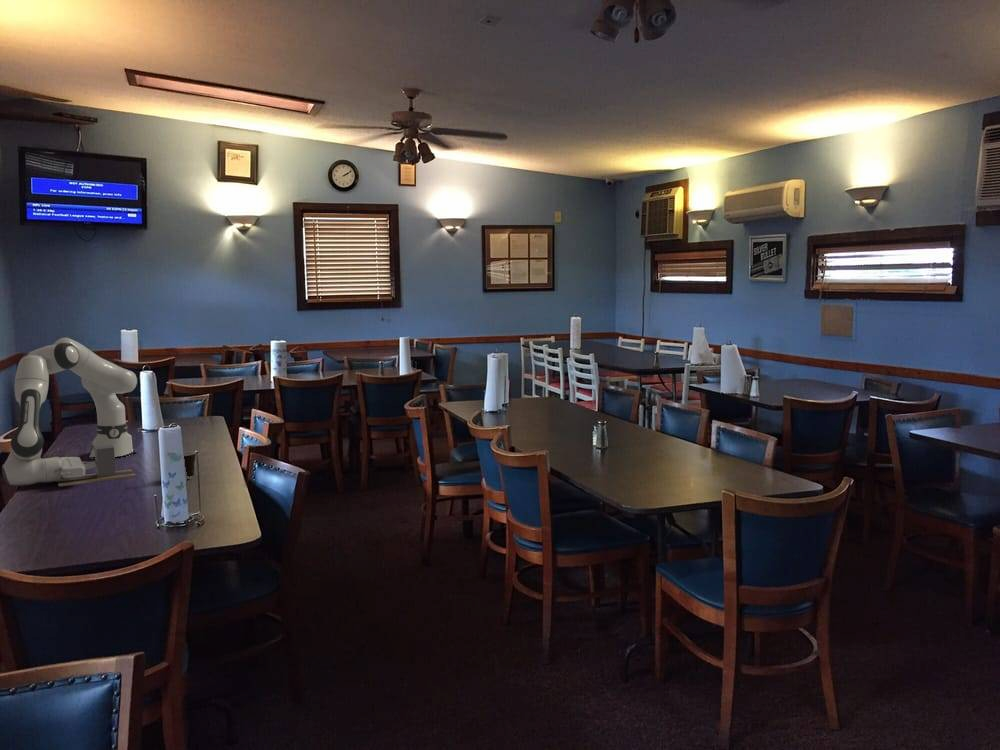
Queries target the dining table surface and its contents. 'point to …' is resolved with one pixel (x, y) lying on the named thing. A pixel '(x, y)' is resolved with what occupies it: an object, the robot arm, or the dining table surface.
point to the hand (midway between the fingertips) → (96, 464)
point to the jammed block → (105, 461)
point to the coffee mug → (189, 462)
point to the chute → (95, 478)
